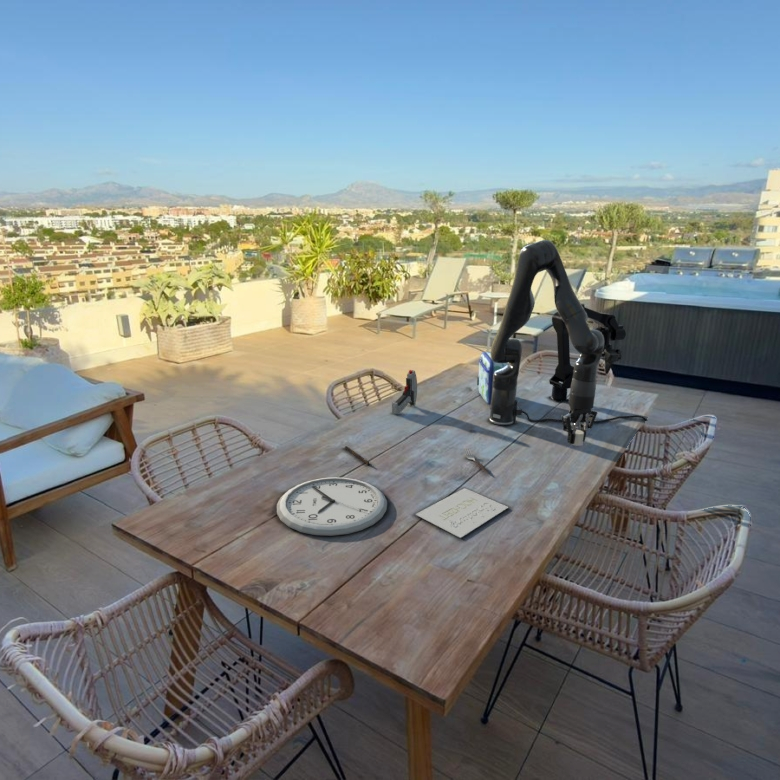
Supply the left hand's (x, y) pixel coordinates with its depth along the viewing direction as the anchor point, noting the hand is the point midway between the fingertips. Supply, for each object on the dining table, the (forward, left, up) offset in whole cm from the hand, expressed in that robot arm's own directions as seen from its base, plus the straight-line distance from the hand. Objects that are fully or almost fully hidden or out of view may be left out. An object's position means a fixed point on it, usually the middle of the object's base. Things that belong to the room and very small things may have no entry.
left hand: (576, 441), depth 172 cm
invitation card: (+49, +23, -6) cm, 54 cm away
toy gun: (+42, -59, -6) cm, 73 cm away
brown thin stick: (+70, -18, -6) cm, 73 cm away
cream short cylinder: (0, 0, 0) cm, 0 cm away
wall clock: (+82, +12, -6) cm, 83 cm away
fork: (+33, -4, -6) cm, 34 cm away
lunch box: (0, -65, -6) cm, 65 cm away
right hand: (-52, -62, +3) cm, 81 cm away
